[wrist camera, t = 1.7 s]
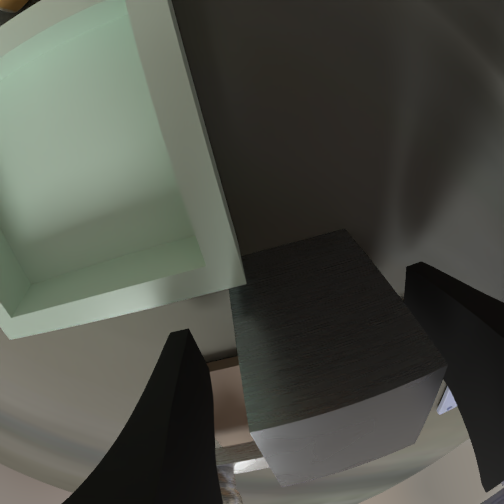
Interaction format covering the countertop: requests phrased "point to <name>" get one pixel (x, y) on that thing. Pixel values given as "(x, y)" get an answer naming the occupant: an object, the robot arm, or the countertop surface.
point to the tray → (104, 168)
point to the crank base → (229, 403)
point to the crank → (236, 467)
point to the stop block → (329, 359)
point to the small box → (12, 5)
